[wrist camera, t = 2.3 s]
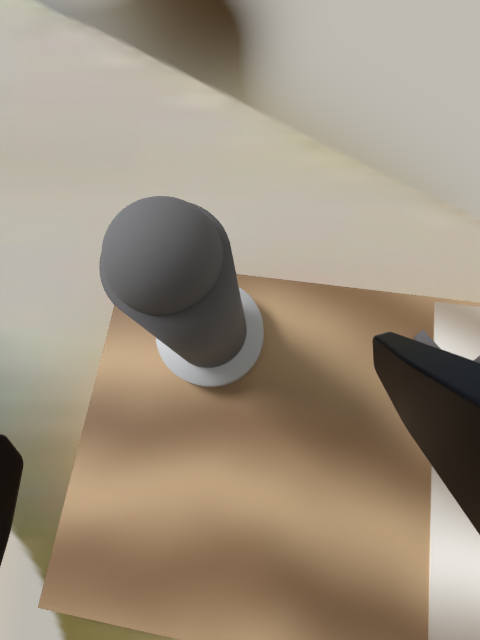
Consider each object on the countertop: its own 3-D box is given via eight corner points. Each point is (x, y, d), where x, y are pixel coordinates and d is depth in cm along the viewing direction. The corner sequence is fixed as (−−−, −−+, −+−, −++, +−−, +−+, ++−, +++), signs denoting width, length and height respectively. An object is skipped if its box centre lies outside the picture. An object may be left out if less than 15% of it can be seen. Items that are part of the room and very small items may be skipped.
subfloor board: (581, 708, 15) (619, 742, 13) (56, 592, 17) (35, 609, 16) (555, 322, 19) (581, 313, 18) (134, 271, 22) (124, 259, 20)
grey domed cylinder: (255, 395, 18) (241, 356, 7) (152, 379, 18) (5, 323, 8) (269, 294, 19) (274, 142, 9) (173, 282, 20) (69, 126, 9)
